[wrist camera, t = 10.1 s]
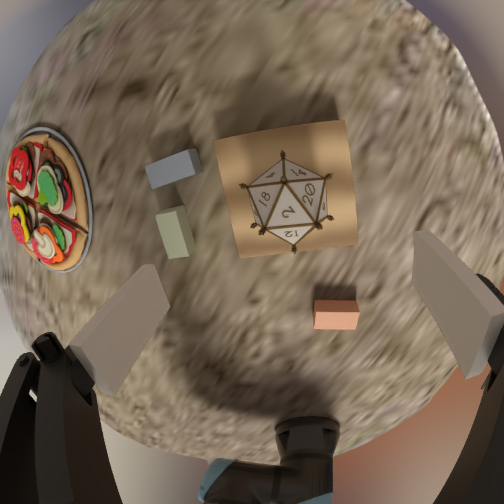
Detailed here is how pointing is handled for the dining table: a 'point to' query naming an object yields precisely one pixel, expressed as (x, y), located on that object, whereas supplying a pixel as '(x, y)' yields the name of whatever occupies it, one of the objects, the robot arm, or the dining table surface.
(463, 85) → the dining table surface
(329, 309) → the terracotta brick
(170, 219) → the sage brick
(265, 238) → the oak block
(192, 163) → the slate blue brick
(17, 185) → the toy pizza
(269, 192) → the game die
